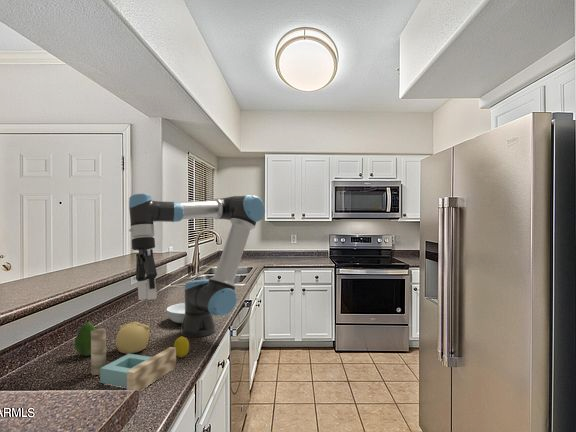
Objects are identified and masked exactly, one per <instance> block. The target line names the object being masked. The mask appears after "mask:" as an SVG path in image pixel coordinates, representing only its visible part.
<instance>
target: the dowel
mask: <svg viewBox="0 0 576 432" xmlns="http://www.w3.org/2000/svg"><path fill="white" fill-rule="evenodd" d="M105 365H107V330H106V328H95V330H92V331H91V355H90V375H91V374H92V375H91V376H93V375H98V374H100V368H102V367H103V366H105ZM98 376H99V375H98Z"/></svg>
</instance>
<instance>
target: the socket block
mask: <svg viewBox="0 0 576 432" xmlns="http://www.w3.org/2000/svg"><path fill="white" fill-rule="evenodd" d="M152 357H153V356H147V355H141V354H140V355H139V354H135V353H131V354H125V355H123V356H121V357H119V358H118V359H116V360H113V361H111V362H109V363H108V364H107V363H106V365H105V366H103V367H102V368H100V375H99V377H100V379H99V380H100V381H99V382H100V383H105V384H112V385H117V386H121V387H125V388H127V371H129V370H131V369H132V368H134V367H136V366H138V365H139V364H141V363H143V362H145V361H146V360H148V359H150V358H152ZM100 383H99V384H100Z"/></svg>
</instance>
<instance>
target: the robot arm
mask: <svg viewBox="0 0 576 432" xmlns="http://www.w3.org/2000/svg"><path fill="white" fill-rule="evenodd" d="M128 199H129V200H128V209H129V221H130V228H129V229H128V232H130V233H131V235H130V237H131V249H132V250H133V251H138V253H136V254H135V256H136V262H135V263H136V269H135V280H136V281H137V292H138V293H137V295H138V300H139V301H140V300H141V301H142V300H146V299H147V301H150V300H157V298H158V294H157V282H156V277H157V276H158V273H157V268H156V263H155V258H154V252H153V251H154V250H153V249H154V248H156V241H155V238H154V236H155V225H154V222H166V223H168V222H170V223H174V222H176V223H177V222H181V221H182V220H191V219H193V220H194V219H207V218H213V219H215V220H227V221H229V222H230V223H231V227H230V230H229V232H228V236H227V239H226V242H225V244H224V247H223V250H222V253H221V255H220V259H219V260H218V261H219V262H218V264H217V267H216V270H215V272H214V275H213V276H212V277H210V278H206V279H205V278H204V279H197V280H190V281H187V282H185V284H184V303H185V317H184V320H183V323H181V327H180V334H181V336H183V337H186V338H200V337H206V336H210V335H212V334H214V333H215V332H216V329H217V327H216V322H215V320H214V317H213V316H219V317H224V316H227V315H229V314H230V313H231V312H232V311H233V310H234V309H235V307H236V305H237V300H238V297H237V293H236V291H235V289H236V285H235V278H236V275H237V273H238V269H239V266H240V263H241V260H242V257H243V253H244V250H245V248H246V245H247V241H248V240H249V239H248V238H249V236H250V233H251V231H252V230H254V229H255V228H256V226H257V222H260V221H262V220H263V218H264V216H265V213H266V207H265V205H264V202H263V200H262V199H261V198H260V197H259V196H257V195H253V194H252V195H251V194H247V195H234V196H228V197H222V198H214V199H212V200H199V201H198V200H197V201H193V200H191V201H160V200H159V201H157V200H153V198H152V196H151V194H148V193H136V194H135V193H134V194H132V195H131V196H129V198H128Z"/></svg>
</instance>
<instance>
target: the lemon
mask: <svg viewBox="0 0 576 432" xmlns="http://www.w3.org/2000/svg"><path fill="white" fill-rule="evenodd" d="M173 343H174V344H173V347H174V348H176V357H179V358H181V359H182V357H183V358H184V357H186V356H187V355H188V353H189V350H190V341H189V340H188V337H186V336H184V335H181V336H180V337H178V338H177V337H176V339H175V341H174V342H173Z"/></svg>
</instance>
